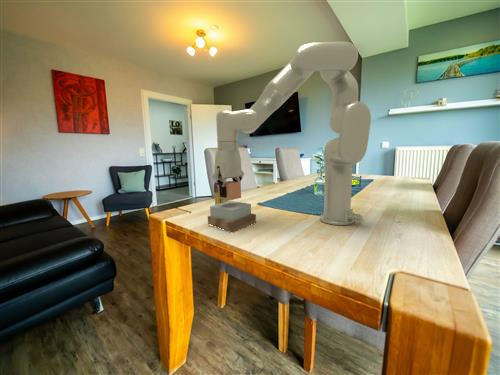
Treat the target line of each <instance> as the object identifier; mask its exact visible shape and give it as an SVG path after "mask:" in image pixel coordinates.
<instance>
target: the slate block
mask: <svg viewBox="0 0 500 375" xmlns="http://www.w3.org/2000/svg"><path fill="white" fill-rule="evenodd" d="M209 208H210V209H209V212H210V215H209V216H211V217H214V218H219V219H224V220H228V221H235V220H238V219H240V218H242V217H245V216H247V215H250V214H251V213H252V203H249V202H248V203H247V202H241V201H236V200H235V201H234V200H229V201H227V202H224V203H220V204H217V205H215V204H213V205H210V207H209Z"/></svg>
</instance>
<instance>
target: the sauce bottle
mask: <svg viewBox="0 0 500 375" xmlns="http://www.w3.org/2000/svg"><path fill="white" fill-rule="evenodd" d="M218 179H219V178H218ZM222 181H223V180H222ZM213 195H214V205H217V204H220V203H224V202H227V201H230V200H224V199H219V197H218V185H217V183H216V182H215V181H214V184H213Z"/></svg>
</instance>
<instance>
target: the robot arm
mask: <svg viewBox="0 0 500 375" xmlns="http://www.w3.org/2000/svg"><path fill="white" fill-rule="evenodd" d="M358 51H359V50H358V49H357V47H356V46H355V44H353V43H352V42H349V41H319V42H318V41H317V42H316V41H315V42H309V43H308V42H307V43H305V44H302V45H301V46H299V48H298V49H296V52H295V53H294V55H293V57H292V59H291V60H290V61H289V62H287V64H285V66H284V67H283V68H282V69H281V70H280V71H279V72H278V73H277V74H276V75H275V76H274V77H273V78H272V79H271V80H270V81H269V82H268V83H267V85H266V86H265V87H264V89H263V91H262V93H261V95H260V96H259V97H258V99H257V100H256V101H255V102H254V104H252V105H251V107H250V108H245V109H239V110H234V111H233V110H220V111H218V112H217V113H216V118H215V119H216V137H217V138H216V139H217V140H216V141H217V142H216V143H217V150H216V151H215V153H214V154H215V155H214V164H213V165H214V172H213V175H212V176H211V179H212V180H213V181H214V183H215V182H216V183H217V185H218V186H219V193H220V197H224V198H226V197H227V193H226V187H225V183H226V181H227V180H228V179H232V180H231V181H235V182H241V181H242V180H243V178H244V176H245V172H244V171H243V170H242V160H241V154H240V150H239V147H240V144H239V131H240V132H242V133H244V134H247V135H248V134H249V135H250V134H252V133H253V134H254V132H256V130H258V129H259V127H261V125H262V124H264V122H265V121H267V119H268V118H269V117H270V116H271V115H272V114H273V113H274V112H275V111H277V110H278V109H279V108H280V107H281V106H282V105H283V104H284V103H286V101H287V100H288V99H289V98H290V97H292V96H293V94H294V93H295V92H296V91H297V90H298V89H299V88H300V87H301V86H302V85H303V84H304V83H305V82H307V81H308V79H309V78H310V77H311V76H312V75H313V74H314V72H319V75H320V77H321V78H322V81H324V82H325V83H326V84H327V85H329V87H330V89H331V92H332V100H331V101H332V102H331V109H330V118H329V127H330V129H331V131H333V132H334V134H335V133H336V134H339V135H338V137H335V138H332V139H330V140H329V141H328V142H326V144H325V146H324V148H323V149H324V150H323V162H324V189H323V190H324V194H323V197H324V198H323V201H324V202H323V203H324V204H323V214H321V215H319V220H320V221H321V222H323V223H325V224H329V225H333V226H334V225H335V226H348V225H352V224H354V223H355V220H356V221H363V215H361V213H355V212H354V210H353V209H351V207H352V206H351V205H352V203H351V202H352V188H353V187H352V184H353V183H352V182H353V170H352V165H356V164H358V163H360V162H361V161H362V160H363V159H364V157H365V155H366V153H367V150H368V144H369V138H370V137H369V136H370V132H371V131H370V130H371V125H372V124H371V121H372V114H371V111H370V107H368V105H367V104H366V103H365V102H363V101H360V100H359V84H358V82H357V80H356V78H355V76H353V74H352V73H351V72H350V71H351V70H352V69H353V68H354V67H355V65H356V64H357V62H358V59H359V52H358ZM218 178H219V179H218ZM222 180H223V181H222Z"/></svg>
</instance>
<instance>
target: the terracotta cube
mask: <svg viewBox="0 0 500 375" xmlns="http://www.w3.org/2000/svg"><path fill="white" fill-rule="evenodd" d="M241 184H242V182H241V181H240V182H235V181H233V180H226V183H225V187H226V193H227V197H226V198H224V197H220V193H219V186H218V197H219V199H224V200H229V201H234V200H237V199H241V198H242V186H241Z"/></svg>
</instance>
